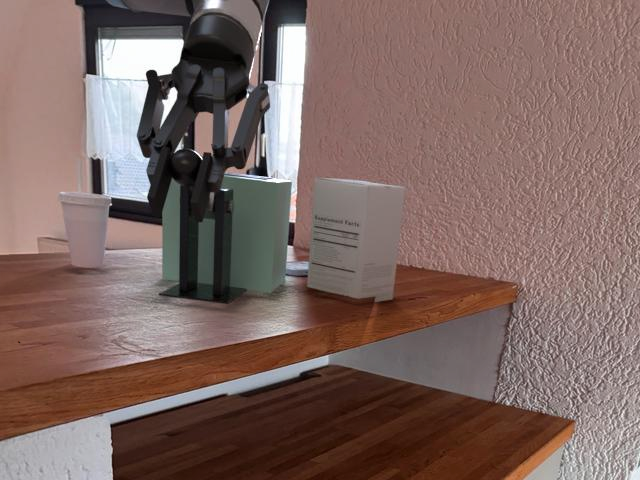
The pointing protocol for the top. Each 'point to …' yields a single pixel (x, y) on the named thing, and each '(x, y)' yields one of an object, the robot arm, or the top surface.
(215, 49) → the robot arm
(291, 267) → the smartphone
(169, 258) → the grey-green box
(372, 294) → the rectangular carton
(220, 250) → the lever bracket
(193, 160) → the lever
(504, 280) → the top surface
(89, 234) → the smoothie
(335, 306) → the top surface
